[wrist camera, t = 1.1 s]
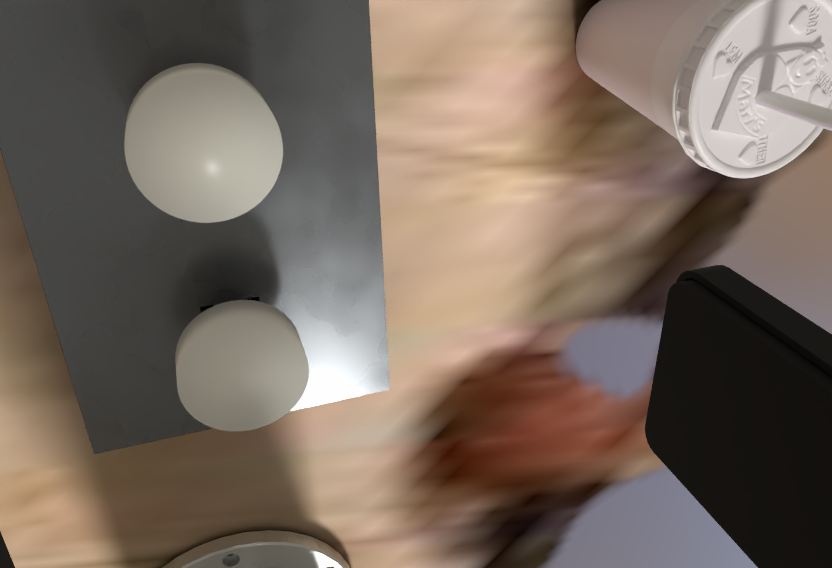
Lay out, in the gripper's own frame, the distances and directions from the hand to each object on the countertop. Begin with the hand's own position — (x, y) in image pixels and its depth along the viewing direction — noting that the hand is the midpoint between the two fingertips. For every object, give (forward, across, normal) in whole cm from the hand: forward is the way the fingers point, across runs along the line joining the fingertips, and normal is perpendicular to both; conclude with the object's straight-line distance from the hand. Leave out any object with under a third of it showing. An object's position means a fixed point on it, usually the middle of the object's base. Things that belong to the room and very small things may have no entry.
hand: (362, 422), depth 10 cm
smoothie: (+22, -17, 0) cm, 27 cm away
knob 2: (+17, +1, +8) cm, 19 cm away
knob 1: (+17, +1, 0) cm, 17 cm away
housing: (+21, +1, +4) cm, 22 cm away
